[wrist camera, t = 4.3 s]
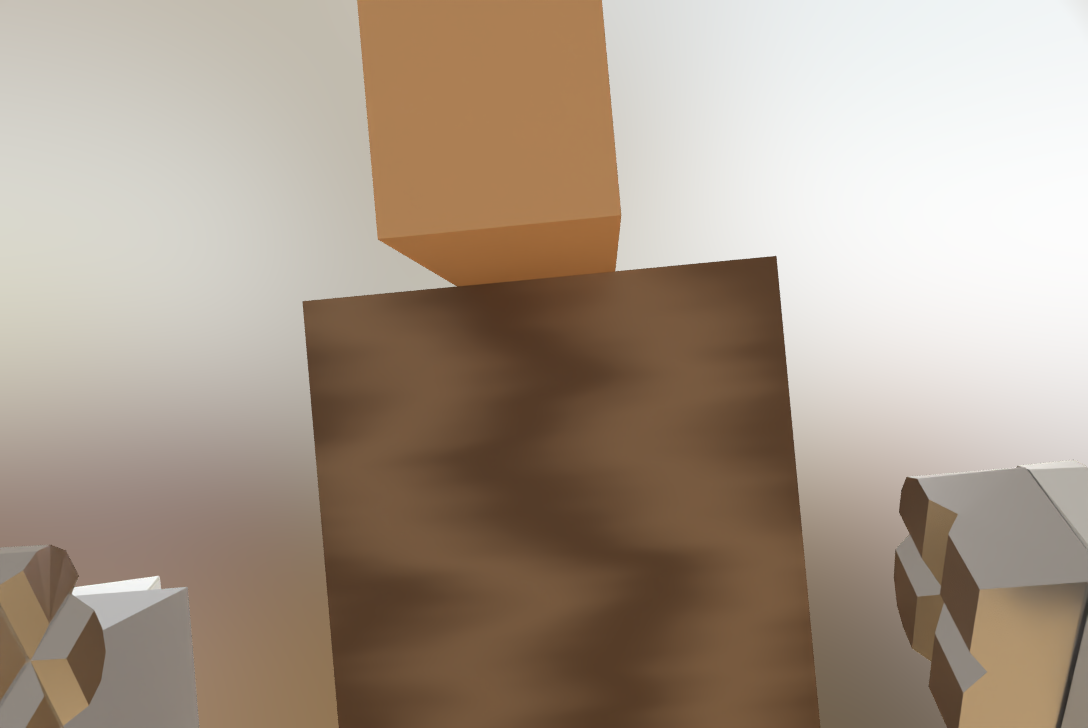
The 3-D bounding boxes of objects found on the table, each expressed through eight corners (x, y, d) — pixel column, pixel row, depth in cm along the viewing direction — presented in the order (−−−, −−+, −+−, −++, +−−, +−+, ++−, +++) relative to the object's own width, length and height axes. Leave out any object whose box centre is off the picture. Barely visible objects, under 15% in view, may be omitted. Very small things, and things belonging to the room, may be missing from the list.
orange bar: (377, 239, 16) (357, -2, 16) (514, 320, 40) (506, 224, 40) (621, 214, 15) (599, -30, 16) (610, 311, 39) (602, 215, 39)
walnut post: (390, 1331, 24) (302, 301, 24) (461, 1012, 36) (402, 325, 36) (875, 1317, 23) (776, 256, 24) (783, 997, 35) (718, 295, 36)
